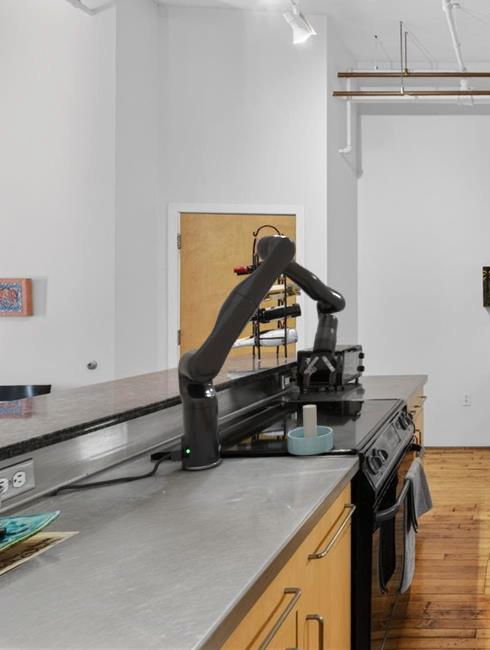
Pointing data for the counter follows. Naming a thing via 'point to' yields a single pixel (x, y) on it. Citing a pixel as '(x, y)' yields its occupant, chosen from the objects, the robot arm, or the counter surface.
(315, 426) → the blade
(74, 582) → the counter surface
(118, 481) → the robot arm
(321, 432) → the processor bowl
